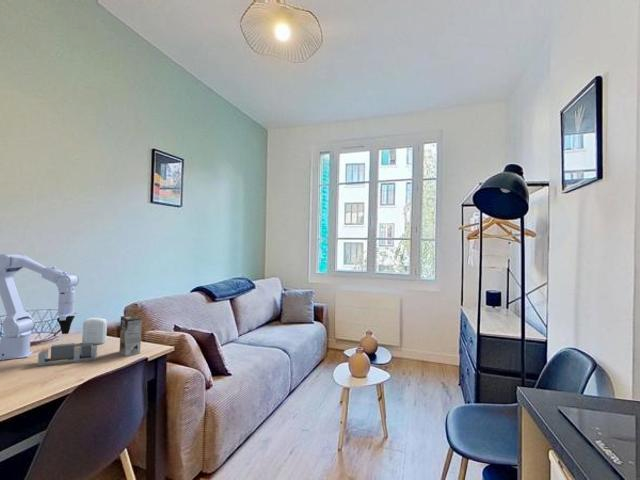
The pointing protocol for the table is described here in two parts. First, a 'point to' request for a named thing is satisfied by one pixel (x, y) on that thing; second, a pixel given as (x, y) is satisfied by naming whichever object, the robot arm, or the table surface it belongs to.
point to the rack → (80, 354)
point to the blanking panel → (62, 351)
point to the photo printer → (94, 331)
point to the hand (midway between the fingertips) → (65, 333)
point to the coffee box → (130, 335)
